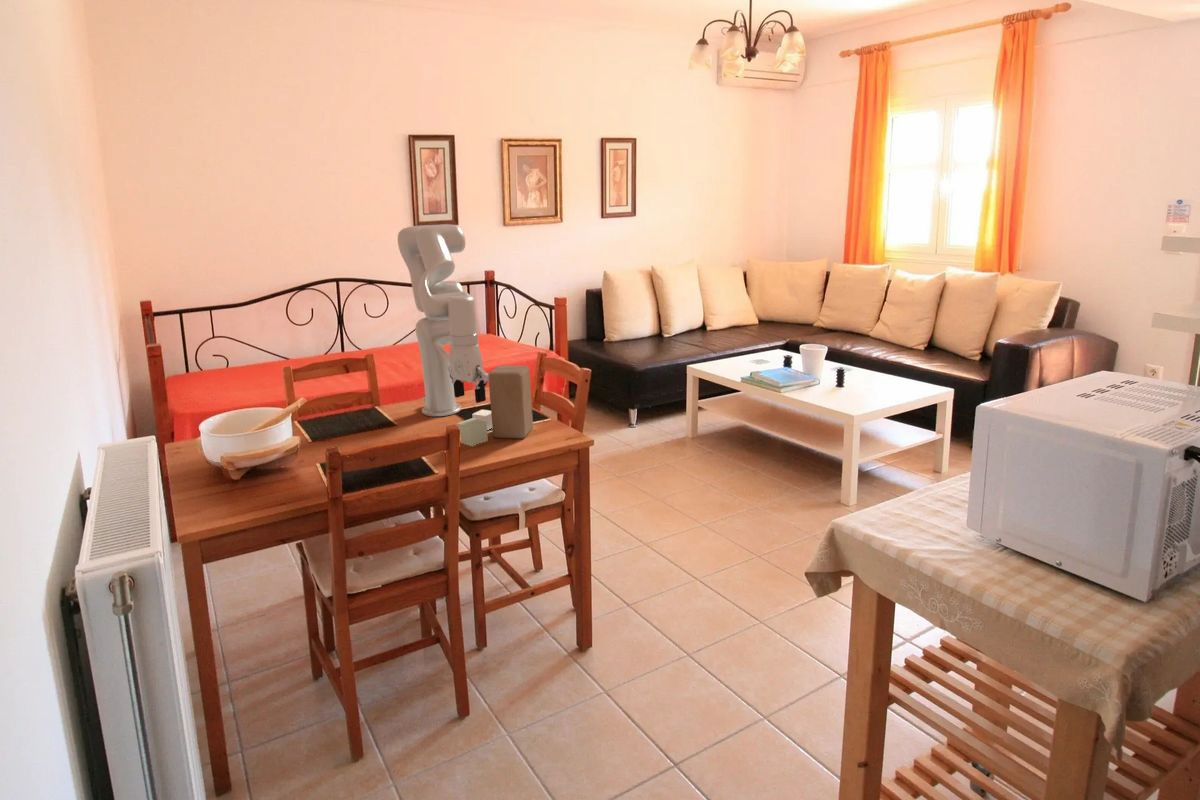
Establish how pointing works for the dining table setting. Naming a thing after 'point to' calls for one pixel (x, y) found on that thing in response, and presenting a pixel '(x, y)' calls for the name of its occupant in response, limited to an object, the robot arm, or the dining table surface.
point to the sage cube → (473, 431)
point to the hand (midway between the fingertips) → (470, 398)
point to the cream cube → (484, 417)
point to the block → (510, 401)
